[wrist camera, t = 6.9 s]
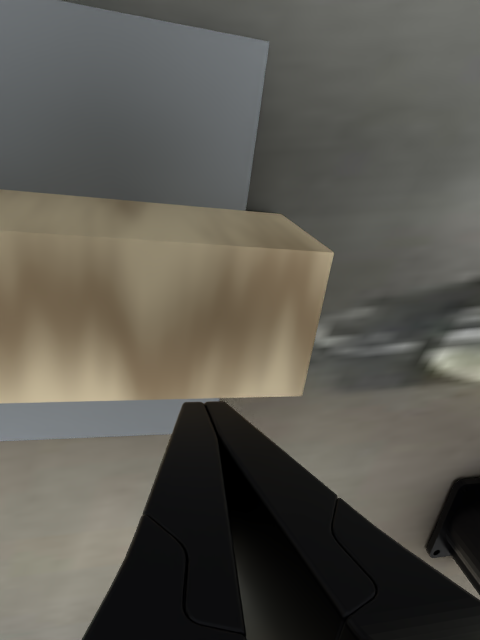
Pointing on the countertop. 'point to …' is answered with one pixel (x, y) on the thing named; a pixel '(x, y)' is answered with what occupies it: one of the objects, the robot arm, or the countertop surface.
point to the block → (153, 300)
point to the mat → (122, 144)
